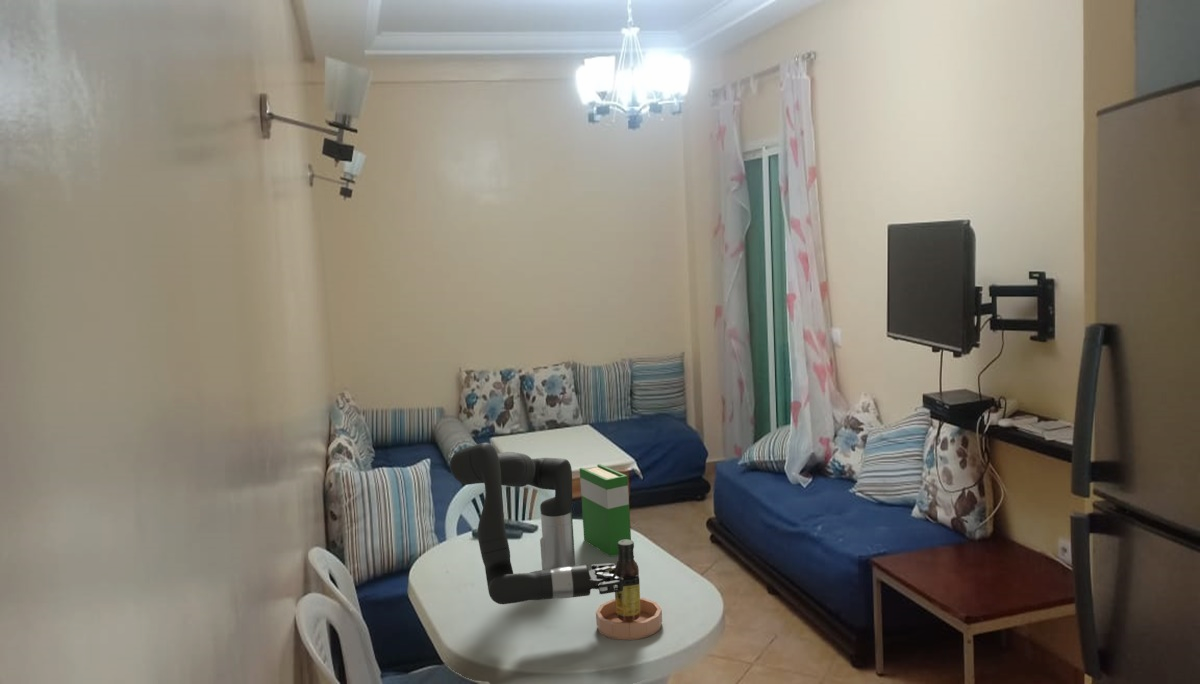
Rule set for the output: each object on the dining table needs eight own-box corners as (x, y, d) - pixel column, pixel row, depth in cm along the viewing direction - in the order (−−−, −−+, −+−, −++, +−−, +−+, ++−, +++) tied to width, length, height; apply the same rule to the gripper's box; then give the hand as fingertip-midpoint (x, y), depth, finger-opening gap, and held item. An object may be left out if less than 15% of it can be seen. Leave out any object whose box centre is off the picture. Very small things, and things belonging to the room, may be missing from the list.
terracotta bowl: (590, 637, 221) (589, 622, 221) (607, 610, 236) (606, 595, 236) (653, 642, 217) (653, 626, 216) (667, 614, 232) (666, 599, 231)
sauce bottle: (614, 613, 229) (611, 537, 227) (639, 611, 230) (635, 535, 227) (617, 624, 223) (614, 546, 220) (642, 622, 223) (639, 544, 221)
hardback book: (584, 540, 290) (579, 468, 287) (604, 535, 294) (599, 464, 291) (610, 556, 275) (606, 480, 272) (631, 551, 278) (627, 475, 275)
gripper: (572, 578, 215) (641, 570, 218) (565, 557, 229) (630, 550, 232) (574, 608, 216) (642, 600, 219) (566, 585, 230) (631, 578, 233)
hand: (635, 574), depth 225 cm, fingers closed on sauce bottle, 6 cm apart
